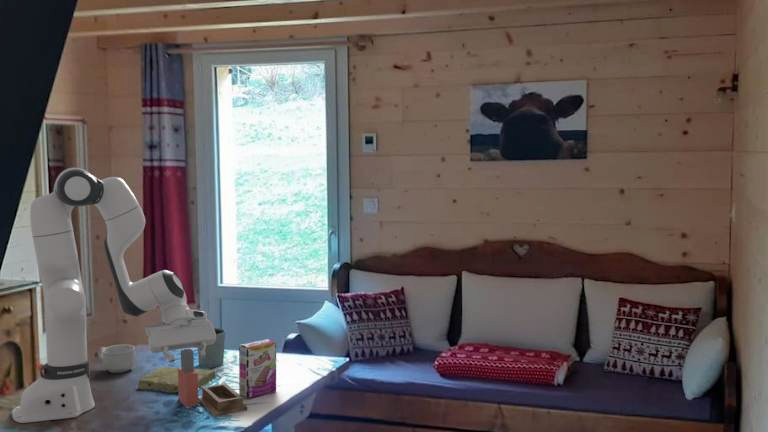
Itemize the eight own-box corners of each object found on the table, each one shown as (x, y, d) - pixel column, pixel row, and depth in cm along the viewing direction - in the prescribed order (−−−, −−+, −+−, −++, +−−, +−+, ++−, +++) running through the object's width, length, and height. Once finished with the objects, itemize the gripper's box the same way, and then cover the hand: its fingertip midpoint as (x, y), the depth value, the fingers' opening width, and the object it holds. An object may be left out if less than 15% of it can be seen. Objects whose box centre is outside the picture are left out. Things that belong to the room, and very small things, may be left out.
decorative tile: (162, 374, 263) (161, 364, 263) (216, 378, 259) (216, 367, 258) (133, 391, 245) (133, 380, 244) (191, 395, 241) (191, 384, 240)
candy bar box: (248, 400, 235) (247, 347, 233) (238, 396, 238) (237, 344, 237) (277, 391, 242) (276, 340, 241) (268, 388, 246) (267, 338, 244)
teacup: (142, 369, 268) (141, 346, 267) (116, 377, 259) (115, 354, 258) (116, 363, 275) (115, 341, 275) (90, 370, 266) (89, 348, 265)
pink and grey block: (186, 407, 228) (185, 355, 226) (178, 399, 236) (177, 348, 234) (198, 405, 230) (197, 353, 228) (189, 397, 237) (188, 346, 236)
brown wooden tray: (214, 416, 220) (214, 402, 220) (198, 400, 234) (197, 388, 234) (247, 410, 225) (247, 396, 225) (229, 395, 239) (229, 382, 239)
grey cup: (199, 360, 278) (198, 328, 277) (227, 359, 279) (226, 327, 278) (195, 368, 268) (194, 334, 267) (224, 367, 269) (224, 334, 268)
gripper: (145, 319, 232) (154, 358, 224) (211, 311, 242) (222, 348, 234) (142, 330, 236) (151, 369, 228) (207, 322, 246) (217, 359, 239)
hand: (187, 359), depth 231 cm, fingers open, 8 cm apart
